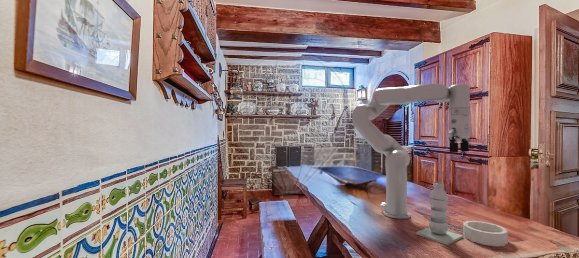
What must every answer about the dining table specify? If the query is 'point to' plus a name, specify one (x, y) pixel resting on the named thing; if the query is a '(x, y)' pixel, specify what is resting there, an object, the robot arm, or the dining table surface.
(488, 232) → the bowl
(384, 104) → the robot arm
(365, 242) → the dining table surface
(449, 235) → the mat
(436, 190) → the plastic bottle
